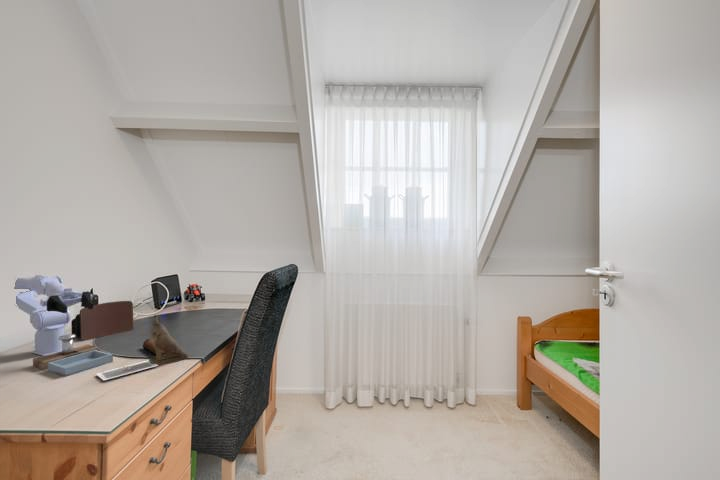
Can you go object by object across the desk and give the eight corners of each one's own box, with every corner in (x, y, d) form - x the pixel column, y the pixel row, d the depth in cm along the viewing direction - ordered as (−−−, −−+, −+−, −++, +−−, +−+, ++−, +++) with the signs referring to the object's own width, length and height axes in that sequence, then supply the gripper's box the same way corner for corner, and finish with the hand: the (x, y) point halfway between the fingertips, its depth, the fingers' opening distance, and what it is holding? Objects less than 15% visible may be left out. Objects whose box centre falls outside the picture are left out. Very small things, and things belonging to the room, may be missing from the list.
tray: (47, 370, 113) (47, 362, 113) (95, 356, 125) (95, 349, 125) (65, 376, 108) (65, 368, 108) (112, 361, 120) (112, 354, 120)
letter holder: (134, 330, 159) (133, 299, 159) (80, 341, 143) (80, 307, 142) (123, 326, 165) (122, 296, 164) (71, 337, 148) (70, 304, 148)
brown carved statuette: (151, 373, 116) (137, 322, 113) (150, 368, 121) (136, 318, 118) (190, 358, 123) (177, 310, 120) (187, 354, 127) (174, 306, 124)
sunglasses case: (186, 352, 128) (175, 339, 126) (168, 367, 124) (157, 353, 121) (166, 342, 140) (156, 330, 137) (149, 355, 136) (139, 343, 133)
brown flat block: (33, 366, 116) (32, 358, 116) (87, 351, 131) (87, 344, 131) (44, 370, 113) (44, 362, 113) (99, 354, 128) (99, 347, 127)
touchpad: (158, 368, 115) (158, 362, 115) (103, 384, 104) (103, 377, 104) (149, 363, 120) (149, 356, 120) (95, 377, 109) (95, 370, 109)
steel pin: (56, 361, 121) (56, 336, 121) (71, 357, 125) (71, 333, 125) (63, 363, 119) (63, 338, 119) (78, 358, 123) (78, 334, 123)
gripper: (35, 285, 120) (55, 300, 114) (85, 281, 132) (104, 294, 126) (33, 305, 120) (51, 320, 114) (82, 299, 133) (101, 312, 127)
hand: (79, 308), depth 121 cm, fingers open, 7 cm apart
